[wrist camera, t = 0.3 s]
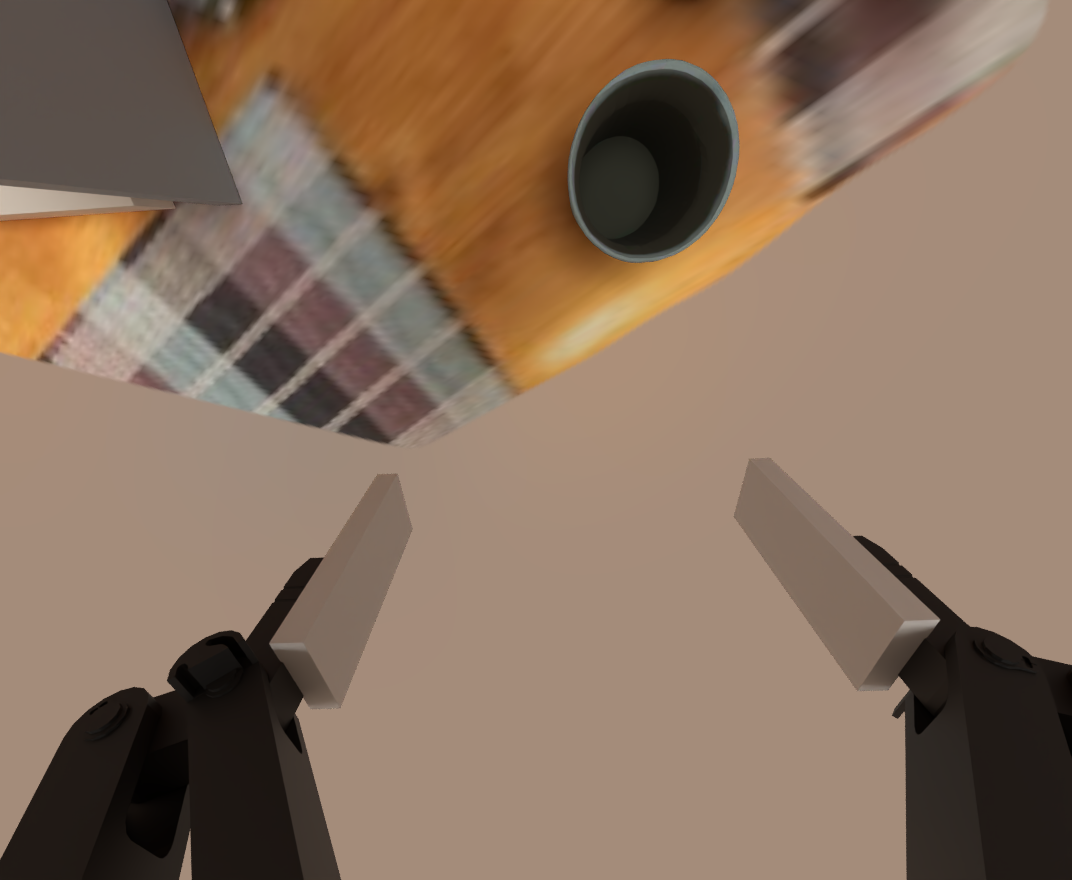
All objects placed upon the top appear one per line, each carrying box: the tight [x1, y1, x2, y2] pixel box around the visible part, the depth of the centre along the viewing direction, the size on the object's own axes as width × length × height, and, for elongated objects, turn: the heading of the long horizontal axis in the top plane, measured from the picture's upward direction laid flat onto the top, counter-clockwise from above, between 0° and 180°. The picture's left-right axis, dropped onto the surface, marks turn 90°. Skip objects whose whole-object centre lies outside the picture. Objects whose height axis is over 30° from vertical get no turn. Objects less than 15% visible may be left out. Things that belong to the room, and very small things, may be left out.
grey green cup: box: [568, 59, 739, 263], centre depth 28 cm, size 10×10×12 cm
